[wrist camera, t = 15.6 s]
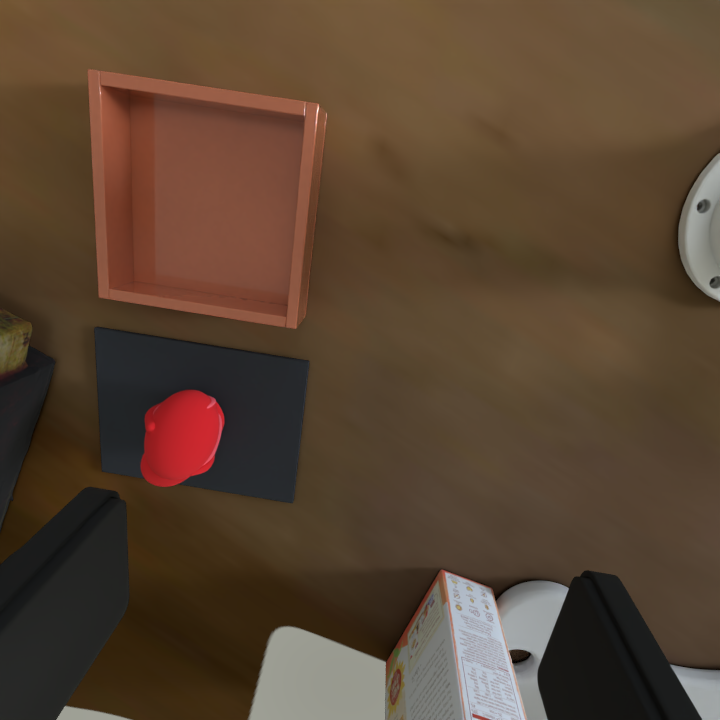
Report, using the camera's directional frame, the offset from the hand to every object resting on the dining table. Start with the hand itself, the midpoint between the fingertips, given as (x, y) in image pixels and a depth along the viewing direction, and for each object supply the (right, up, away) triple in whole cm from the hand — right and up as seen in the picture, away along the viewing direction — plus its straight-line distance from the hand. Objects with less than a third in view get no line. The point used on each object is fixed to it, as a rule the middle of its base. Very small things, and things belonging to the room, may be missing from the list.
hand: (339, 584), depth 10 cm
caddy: (-10, +16, +25) cm, 32 cm away
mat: (-14, 0, +31) cm, 34 cm away
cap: (-14, 0, +31) cm, 34 cm away
